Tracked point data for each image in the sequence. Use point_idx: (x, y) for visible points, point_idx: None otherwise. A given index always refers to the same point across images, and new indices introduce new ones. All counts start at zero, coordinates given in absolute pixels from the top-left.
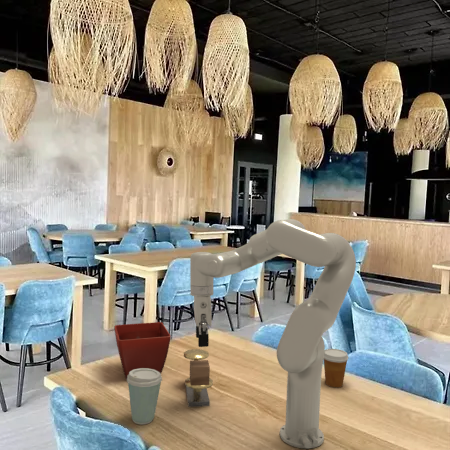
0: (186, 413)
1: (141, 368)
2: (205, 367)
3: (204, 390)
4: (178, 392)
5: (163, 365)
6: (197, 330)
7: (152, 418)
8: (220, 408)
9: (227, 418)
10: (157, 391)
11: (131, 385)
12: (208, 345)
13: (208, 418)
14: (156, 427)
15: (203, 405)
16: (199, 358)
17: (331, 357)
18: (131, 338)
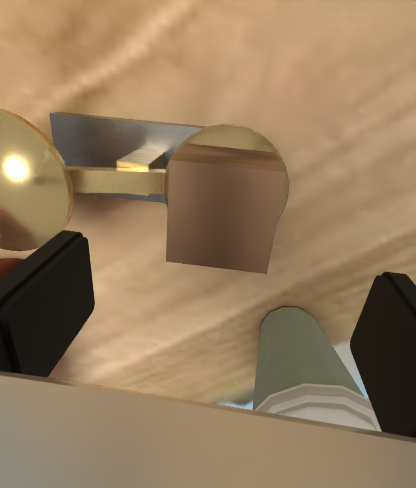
0: (286, 218)
1: None
2: (280, 197)
3: (158, 135)
4: (135, 219)
5: (1, 273)
6: (57, 353)
7: (310, 315)
8: (282, 91)
9: (367, 81)
10: (340, 369)
11: None
12: (407, 276)
13: (342, 154)
14: (340, 304)
15: None
16: (67, 179)
17: None
18: None
